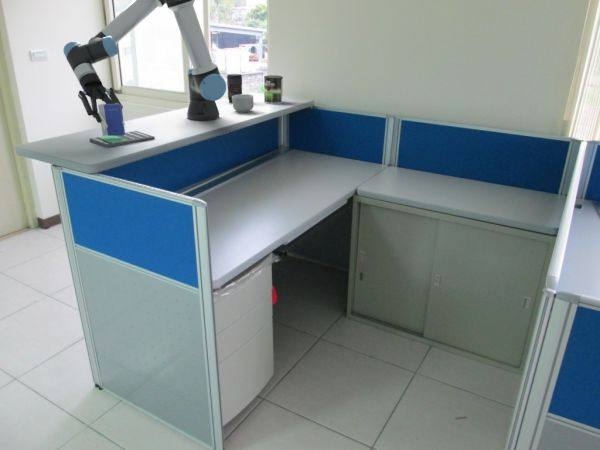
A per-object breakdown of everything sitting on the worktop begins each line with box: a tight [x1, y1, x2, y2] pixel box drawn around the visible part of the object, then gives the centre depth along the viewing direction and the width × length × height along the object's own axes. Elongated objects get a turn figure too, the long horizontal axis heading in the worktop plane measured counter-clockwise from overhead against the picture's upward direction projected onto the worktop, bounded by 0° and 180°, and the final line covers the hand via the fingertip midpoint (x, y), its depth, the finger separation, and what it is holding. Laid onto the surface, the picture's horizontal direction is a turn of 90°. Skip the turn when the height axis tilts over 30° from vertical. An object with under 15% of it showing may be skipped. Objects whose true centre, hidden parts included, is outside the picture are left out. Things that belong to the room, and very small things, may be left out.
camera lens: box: [226, 73, 243, 104], centre depth 278 cm, size 8×8×15 cm
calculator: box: [89, 130, 156, 149], centre depth 198 cm, size 20×14×1 cm
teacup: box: [231, 93, 254, 114], centre depth 257 cm, size 14×11×8 cm
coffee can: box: [263, 74, 284, 105], centre depth 280 cm, size 10×10×14 cm
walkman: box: [98, 103, 126, 136], centre depth 193 cm, size 8×3×12 cm, turn 95°
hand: (114, 127), depth 192 cm, fingers closed on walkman, 6 cm apart
